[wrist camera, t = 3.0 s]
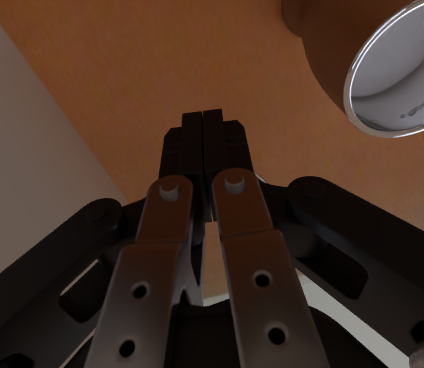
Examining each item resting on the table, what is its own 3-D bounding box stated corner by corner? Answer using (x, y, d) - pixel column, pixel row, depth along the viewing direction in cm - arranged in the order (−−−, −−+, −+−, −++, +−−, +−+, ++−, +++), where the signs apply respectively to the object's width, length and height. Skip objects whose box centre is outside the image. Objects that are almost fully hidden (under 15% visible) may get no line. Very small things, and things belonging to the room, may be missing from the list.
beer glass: (261, -21, 23) (320, 47, 12) (353, -83, 20) (531, -70, 9) (292, 58, 27) (356, 161, 16) (371, 14, 25) (508, 100, 14)
